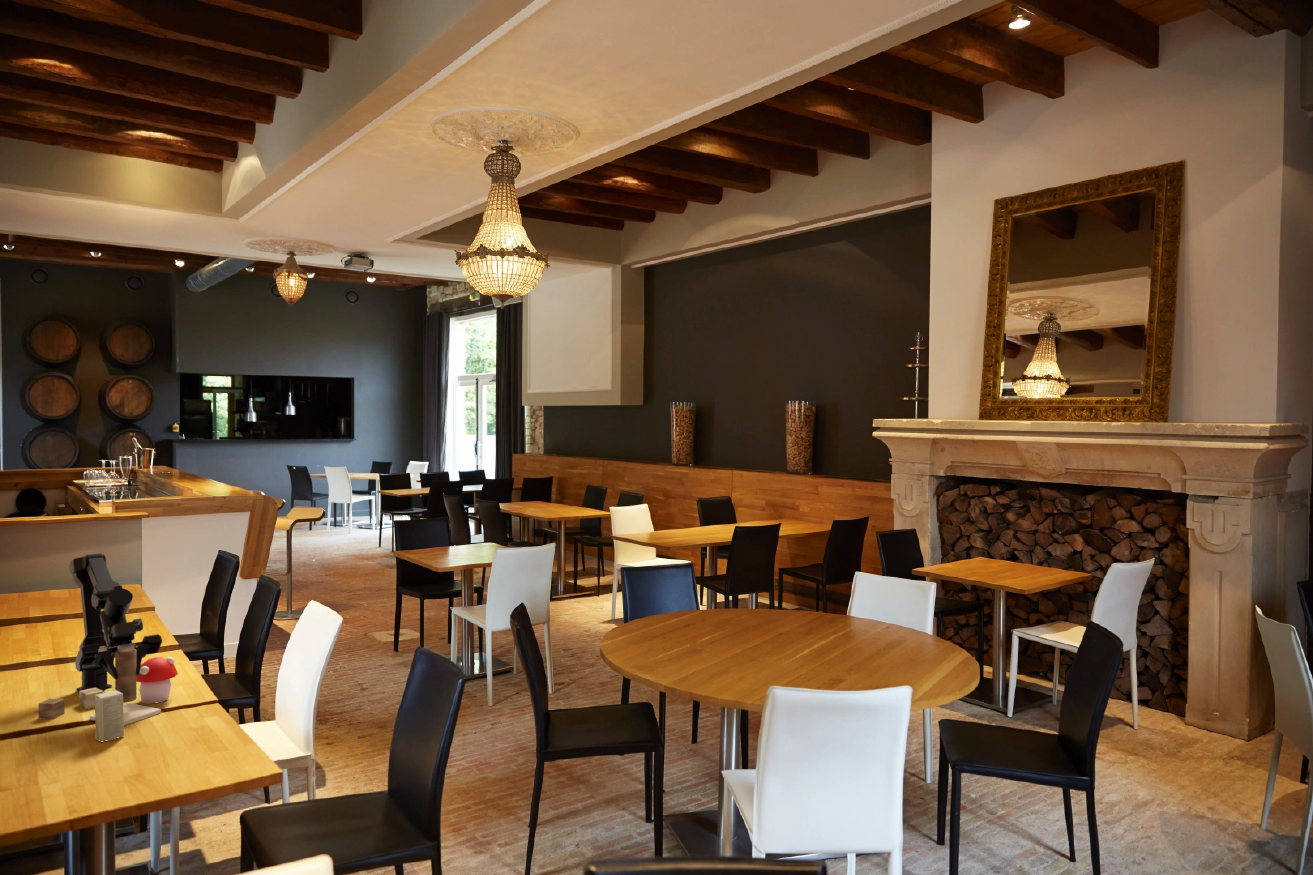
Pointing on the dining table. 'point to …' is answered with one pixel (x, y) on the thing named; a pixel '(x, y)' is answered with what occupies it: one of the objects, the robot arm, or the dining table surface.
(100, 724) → the box
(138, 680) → the mushroom
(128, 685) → the pepper mill
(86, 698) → the oak block
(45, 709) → the walnut block
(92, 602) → the robot arm
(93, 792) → the dining table surface
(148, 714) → the plate
